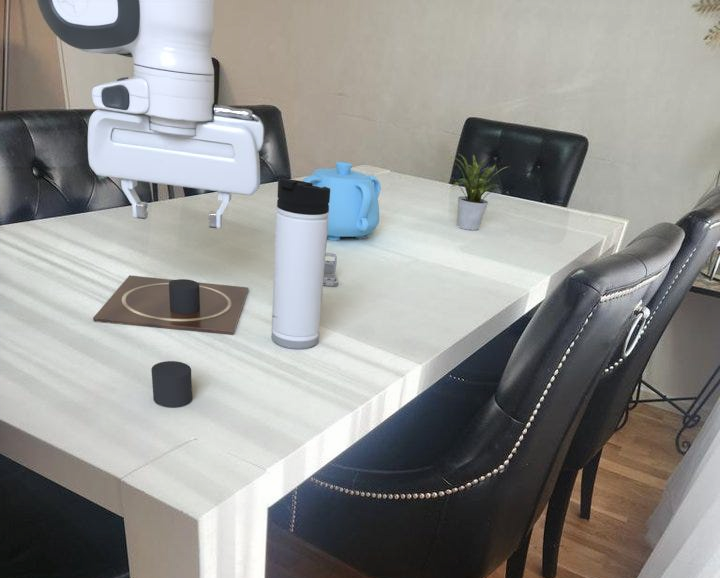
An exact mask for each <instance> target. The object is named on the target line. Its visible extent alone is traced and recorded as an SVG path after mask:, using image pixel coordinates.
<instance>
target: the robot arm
mask: <svg viewBox="0 0 720 578" xmlns="http://www.w3.org/2000/svg"><path fill="white" fill-rule="evenodd" d="M36 1H37V5H38V8H39V11H40V14H41V16H42V17H43V20H44V21H45V23H46V24H47V26H48V28H49V29H50V30H51V31H52V33H53V34H54V35H55V36H56V37H57V38H58V39H59V40H61V41H62V42H63V43H65V44H67V45H69V46H71V47H73V48H75V49H77V50H80V51H82V52H85V53H90V54H91V53H92V54H104V55H118V56H121V57H125V58H132V60H133V61H132V62H133V74H132V77H128V76H127V77H120V78H117V79H116V80H114V81H109V82H105V83H101V84H98V85H96V86H94V87H93V88H92V89H91V100H92V103H93V105H94V106H95V107H96V108H97V109H96V110H94V111H93V112H92V113H91V115H90V117H89V121H88V125H87V159H88V165H89V167H90V168H91V170H92V171H93V173H94V174H95V175H96V176H98V177H107V178H113V179H114V178H115V179H120V182H121V183H120V185H121V189H122V191H123V193H124V195H125V196H126V198H127V199H128V201H129V203H130V204H131V208H132V209H131V210H132V218H133V219H138V220H141V219H142V220H146V219H147V218H148V216H149V212H148V210H147V209H148V202H146V201H141V199H140V197H139V195H138V193H137V191H136V189H135V188H136V187H138V182H142V183H143V182H144V183H152V184H158V185H167V186H174V187H183V188H188V189H189V188H190V189H195V190H196V189H197V190H204V191H211V192H217V201H219V202H221V204H220V206H219V207H218V209H217V210H210V211H209V213H208V220H209V222H208V228H209V229H210V228H211V229H215V230H216V229H217V230H221V229H222V227H223V213H224V212H225V210H226V209H227V207H228V205H229V204H230V202H231V200H232V194H235V195H242V196H248V197H249V196H253V195H254V194H256V193H257V191H258V190H259V189H260V186H261V162H260V151H261V150H262V149H263V147H264V143H265V126H264V123H263V121H262V119H261V118H260V117H259V116H258V115H256V114H254V113H253V110H250V109H247V108H236V107H232V106H228V105H222V104H215V68H214V64H213V60H212V54H211V51H212V50H211V49H212V39H213V36H214V33H215V0H36ZM253 119H254V120H253Z"/></svg>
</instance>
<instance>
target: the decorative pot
mask: <svg viewBox="0 0 720 578" xmlns="http://www.w3.org/2000/svg"><path fill="white" fill-rule="evenodd" d="M352 167H353V164H352V163H351V162H346V161H336V162H335V168H324V167H321V168H318V169H315V170H314V171H313V172H312V174H311V175H308V176H306V177H304V179H302V181H303V182H308V183H312V184H313V185H312V186H317V187H327V188H330V201H329V204H328V205H329V216H328V231H327V240H330V241H340V240H341V237H344V238H345V237H347V238H348V237H352V238H354V237H355V238H354V239H358V238H364V239H365V238H366V237H365V236H367V235H371V234H372V233H373V232H374V231H375V230H376V228H377V227H378V225H379V223H380V205H379V198H380V197H379V196H380V194H381V190H382V185H381V182H380V180H379V179H378V178H377V177H376V176H374V175H371V174H365V173H362V172H359V171H356V170H352Z"/></svg>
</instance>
